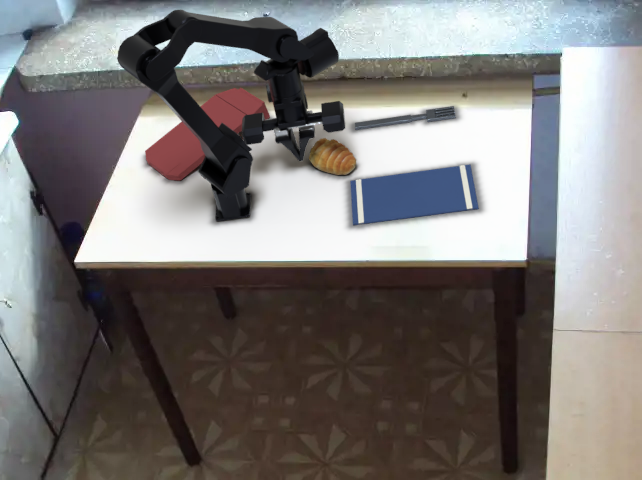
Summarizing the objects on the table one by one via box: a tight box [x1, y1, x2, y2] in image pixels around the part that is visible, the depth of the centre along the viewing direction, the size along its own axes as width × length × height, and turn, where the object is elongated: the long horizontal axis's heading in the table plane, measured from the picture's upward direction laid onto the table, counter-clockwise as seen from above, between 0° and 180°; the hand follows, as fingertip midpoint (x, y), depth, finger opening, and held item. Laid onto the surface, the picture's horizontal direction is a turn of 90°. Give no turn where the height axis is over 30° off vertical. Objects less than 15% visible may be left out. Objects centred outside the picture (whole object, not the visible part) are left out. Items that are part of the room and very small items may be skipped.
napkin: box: [350, 164, 480, 226], centre depth 170 cm, size 12×22×1 cm, turn 89°
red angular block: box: [144, 87, 271, 181], centre depth 190 cm, size 12×5×25 cm
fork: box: [354, 105, 457, 131], centre depth 184 cm, size 3×19×1 cm, turn 89°
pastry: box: [308, 137, 357, 176], centre depth 178 cm, size 9×7×4 cm
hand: (301, 159), depth 179 cm, fingers closed
